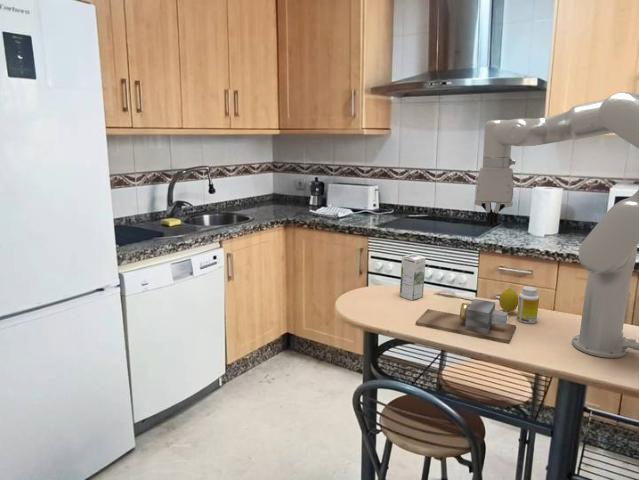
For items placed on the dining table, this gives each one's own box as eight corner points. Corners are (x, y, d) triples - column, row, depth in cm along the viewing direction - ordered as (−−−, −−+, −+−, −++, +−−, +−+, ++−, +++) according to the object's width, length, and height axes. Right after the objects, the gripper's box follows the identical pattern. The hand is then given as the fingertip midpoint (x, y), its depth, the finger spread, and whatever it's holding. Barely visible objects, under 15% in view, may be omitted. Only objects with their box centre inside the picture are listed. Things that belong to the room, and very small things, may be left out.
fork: (492, 313, 162) (493, 305, 161) (431, 295, 172) (432, 287, 171) (493, 310, 165) (495, 302, 164) (433, 293, 174) (435, 285, 174)
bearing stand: (515, 328, 143) (518, 304, 141) (509, 343, 133) (511, 318, 131) (427, 312, 155) (428, 290, 153) (415, 324, 145) (416, 301, 143)
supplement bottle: (540, 322, 147) (544, 290, 145) (525, 325, 145) (529, 292, 143) (527, 316, 152) (530, 284, 150) (512, 318, 150) (515, 286, 148)
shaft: (507, 324, 140) (508, 308, 139) (504, 330, 136) (505, 313, 135) (463, 316, 146) (464, 300, 145) (459, 322, 142) (460, 305, 141)
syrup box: (410, 293, 173) (412, 253, 170) (423, 297, 168) (426, 256, 165) (399, 296, 169) (401, 255, 166) (412, 301, 165) (415, 259, 162)
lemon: (519, 312, 155) (522, 288, 153) (513, 317, 151) (515, 292, 149) (502, 308, 159) (504, 284, 157) (495, 313, 155) (497, 288, 153)
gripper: (525, 163, 144) (520, 225, 148) (472, 162, 151) (468, 221, 154) (522, 164, 137) (517, 229, 141) (467, 163, 144) (463, 225, 148)
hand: (491, 225), depth 148 cm, fingers closed
